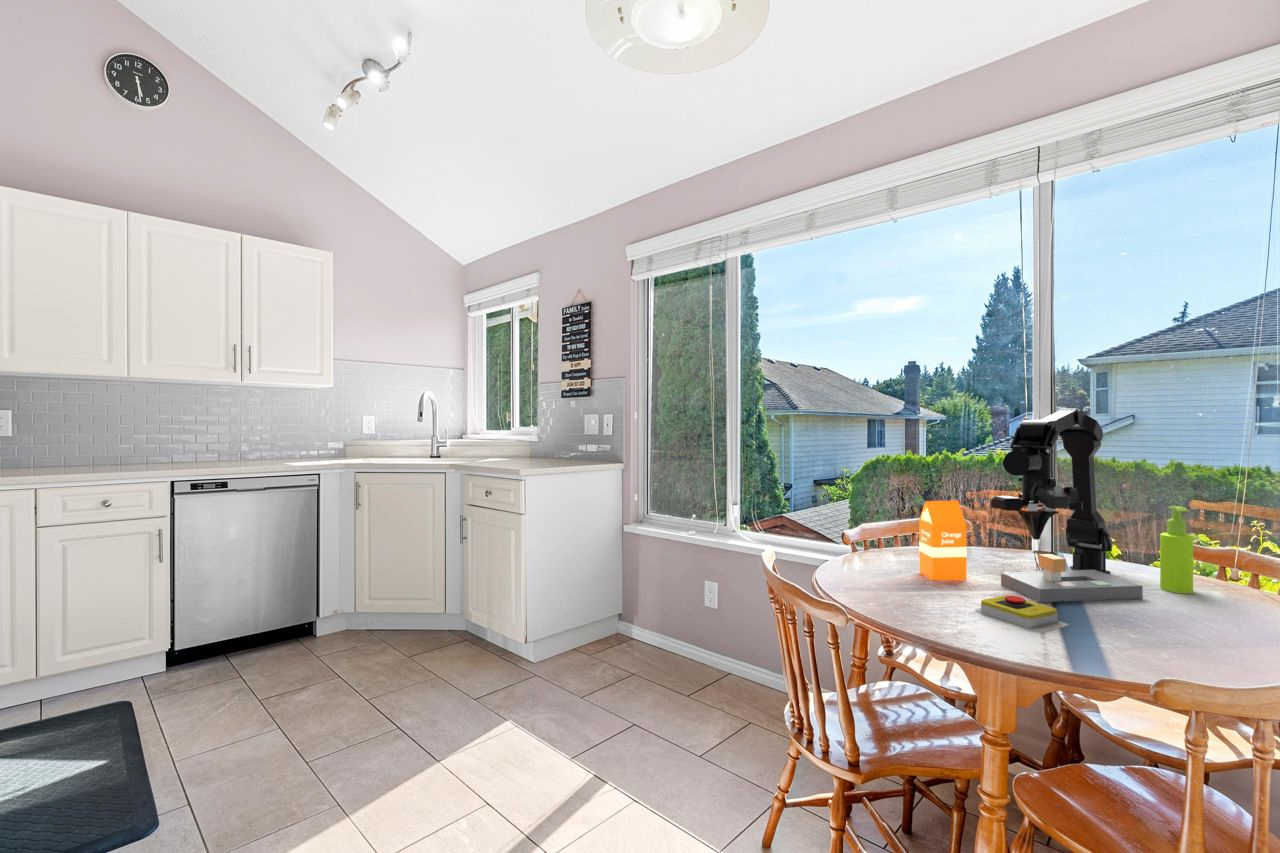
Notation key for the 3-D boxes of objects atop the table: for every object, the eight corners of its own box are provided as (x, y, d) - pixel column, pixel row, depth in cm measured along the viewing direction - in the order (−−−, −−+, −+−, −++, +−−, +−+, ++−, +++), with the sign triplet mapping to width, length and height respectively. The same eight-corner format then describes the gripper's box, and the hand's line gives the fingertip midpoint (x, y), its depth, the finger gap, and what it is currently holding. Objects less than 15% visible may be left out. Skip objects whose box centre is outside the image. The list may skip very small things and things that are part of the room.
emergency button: (1001, 587, 137) (1070, 606, 123) (1001, 606, 137) (1070, 628, 123) (972, 593, 133) (1040, 613, 119) (972, 612, 133) (1040, 635, 120)
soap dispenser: (1168, 593, 142) (1168, 508, 141) (1155, 585, 148) (1156, 503, 148) (1200, 595, 140) (1200, 509, 139) (1186, 587, 146) (1186, 504, 146)
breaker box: (1094, 581, 153) (1094, 568, 152) (1142, 598, 139) (1142, 584, 139) (1001, 584, 152) (1000, 571, 152) (1040, 602, 138) (1039, 588, 138)
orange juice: (967, 580, 156) (966, 502, 156) (932, 580, 156) (931, 503, 156) (951, 572, 164) (951, 498, 164) (919, 572, 164) (918, 498, 164)
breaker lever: (1050, 583, 148) (1050, 553, 147) (1065, 589, 143) (1065, 558, 142) (1038, 583, 147) (1038, 554, 147) (1053, 589, 142) (1053, 559, 142)
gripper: (1021, 476, 135) (1021, 546, 135) (1101, 476, 136) (1101, 546, 136) (990, 472, 146) (989, 537, 147) (1064, 472, 147) (1063, 536, 148)
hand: (1035, 539), depth 144 cm, fingers closed
